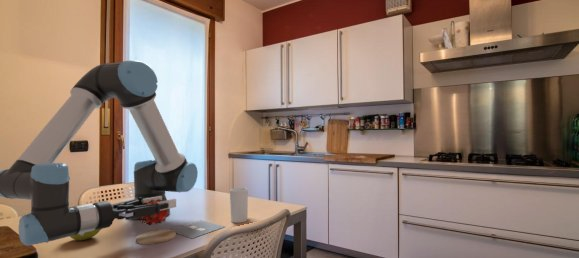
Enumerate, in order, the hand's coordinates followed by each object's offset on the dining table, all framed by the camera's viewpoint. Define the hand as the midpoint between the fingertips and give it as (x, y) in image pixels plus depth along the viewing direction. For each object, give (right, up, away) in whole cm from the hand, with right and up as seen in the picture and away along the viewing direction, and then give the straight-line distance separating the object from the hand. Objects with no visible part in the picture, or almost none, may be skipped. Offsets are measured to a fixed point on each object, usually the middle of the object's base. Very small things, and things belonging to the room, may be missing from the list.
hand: (168, 201), depth 102 cm
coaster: (-3, -11, -4) cm, 12 cm away
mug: (+22, -11, +15) cm, 29 cm away
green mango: (-25, -12, -4) cm, 28 cm away
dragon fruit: (-3, -6, -4) cm, 8 cm away
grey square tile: (+8, -11, +5) cm, 14 cm away
